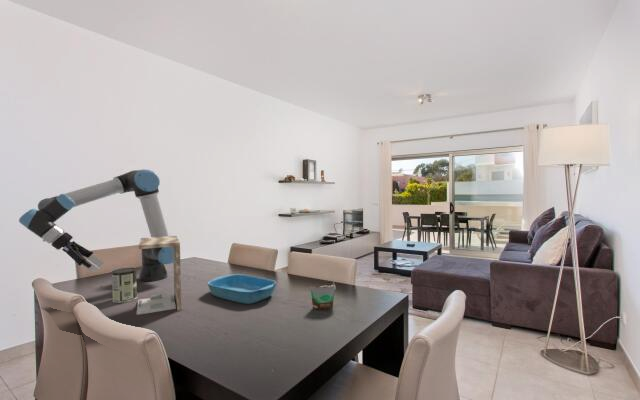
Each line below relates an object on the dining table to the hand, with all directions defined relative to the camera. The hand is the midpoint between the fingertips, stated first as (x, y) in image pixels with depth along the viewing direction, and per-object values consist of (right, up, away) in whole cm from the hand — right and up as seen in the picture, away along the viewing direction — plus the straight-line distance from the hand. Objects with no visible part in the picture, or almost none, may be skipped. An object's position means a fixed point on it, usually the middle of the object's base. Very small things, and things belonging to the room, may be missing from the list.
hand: (99, 267), depth 151 cm
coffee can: (+9, -16, +5) cm, 19 cm away
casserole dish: (+64, -16, +10) cm, 67 cm away
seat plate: (+28, -16, -4) cm, 33 cm away
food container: (+105, -16, -9) cm, 106 cm away
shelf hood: (+30, -16, -3) cm, 34 cm away
